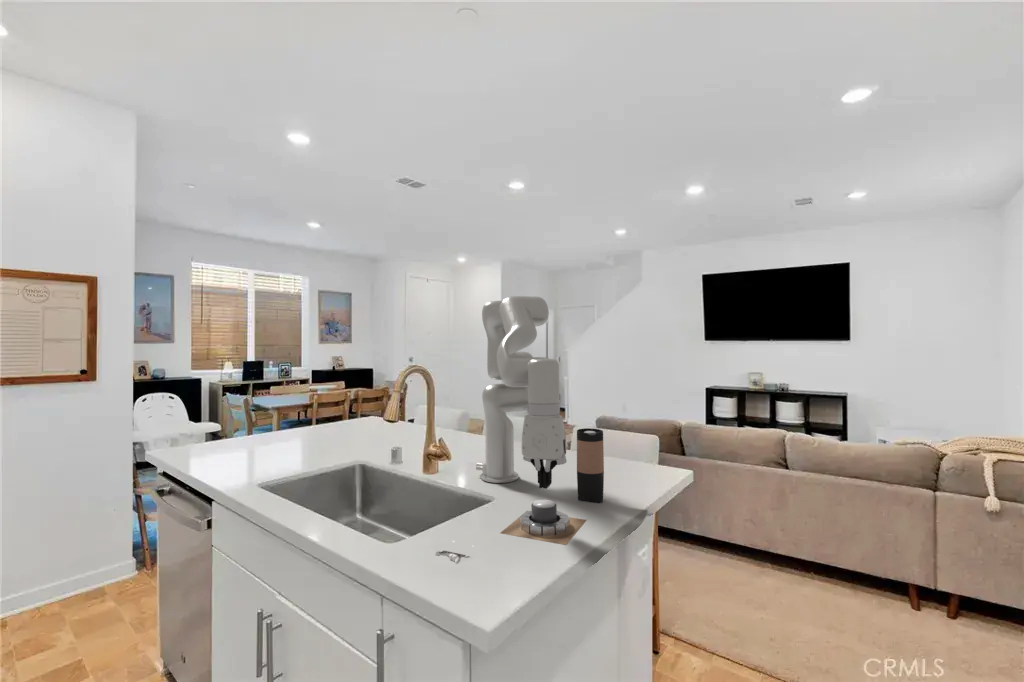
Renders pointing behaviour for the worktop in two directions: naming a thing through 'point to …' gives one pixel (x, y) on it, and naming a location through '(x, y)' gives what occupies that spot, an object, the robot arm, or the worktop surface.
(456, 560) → the acanthus leaf ornament
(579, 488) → the travel mug
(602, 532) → the worktop surface
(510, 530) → the board
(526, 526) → the grey segmented ring
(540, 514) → the cap
